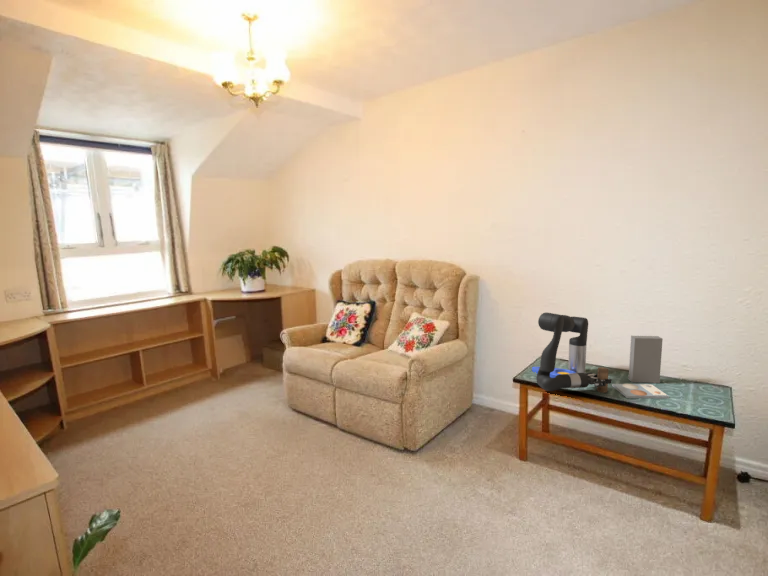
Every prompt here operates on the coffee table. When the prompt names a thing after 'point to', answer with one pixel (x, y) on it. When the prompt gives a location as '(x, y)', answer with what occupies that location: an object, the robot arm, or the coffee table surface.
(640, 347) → the tall grey upright box
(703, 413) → the coffee table surface
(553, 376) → the location marker
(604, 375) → the brown upright cylinder
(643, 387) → the board
